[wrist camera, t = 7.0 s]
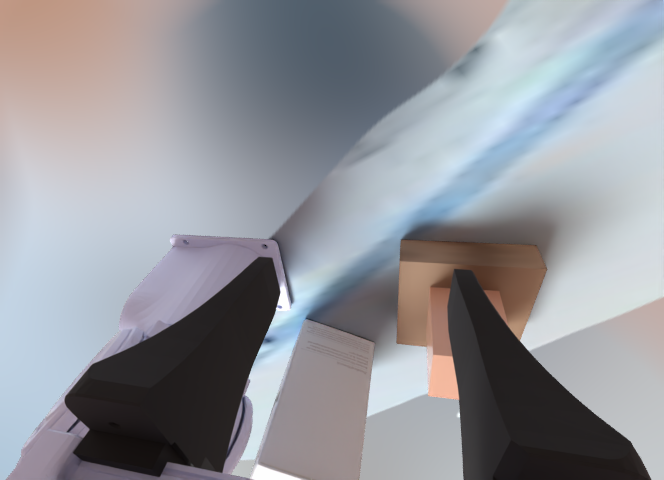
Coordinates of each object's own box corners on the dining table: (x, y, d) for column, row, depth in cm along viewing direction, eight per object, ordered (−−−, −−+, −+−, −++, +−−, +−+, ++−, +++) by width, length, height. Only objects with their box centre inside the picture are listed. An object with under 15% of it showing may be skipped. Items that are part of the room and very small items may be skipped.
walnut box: (397, 315, 31) (396, 343, 28) (401, 235, 25) (399, 261, 23) (505, 325, 29) (514, 355, 26) (534, 240, 23) (547, 269, 21)
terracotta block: (426, 328, 27) (428, 396, 22) (429, 287, 24) (433, 354, 20) (488, 333, 26) (502, 405, 21) (499, 290, 23) (518, 363, 19)
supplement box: (304, 315, 32) (255, 463, 22) (377, 341, 33) (361, 499, 23) (288, 355, 37) (242, 493, 27) (352, 377, 37) (330, 521, 27)
